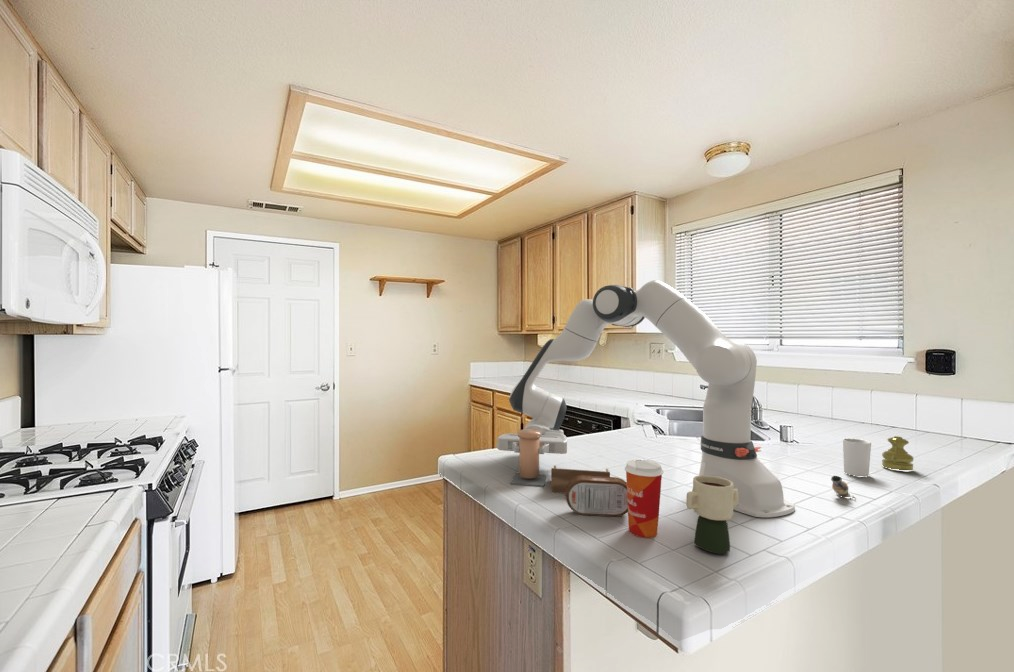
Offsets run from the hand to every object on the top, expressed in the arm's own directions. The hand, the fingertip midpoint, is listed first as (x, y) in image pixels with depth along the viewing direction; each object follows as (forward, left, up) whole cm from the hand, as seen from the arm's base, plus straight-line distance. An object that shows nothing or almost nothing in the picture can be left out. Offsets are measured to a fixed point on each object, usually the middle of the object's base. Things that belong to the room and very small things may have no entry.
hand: (529, 450), depth 124 cm
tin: (-26, -4, -9) cm, 28 cm away
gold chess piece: (-34, -110, -9) cm, 116 cm away
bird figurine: (-42, -66, -9) cm, 79 cm away
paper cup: (-37, -7, -9) cm, 39 cm away
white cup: (-32, -92, -9) cm, 98 cm away
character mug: (-48, -14, -9) cm, 51 cm away
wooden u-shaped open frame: (-10, -10, -8) cm, 17 cm away
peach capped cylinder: (+1, -1, -7) cm, 7 cm away
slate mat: (+1, -1, -8) cm, 8 cm away
